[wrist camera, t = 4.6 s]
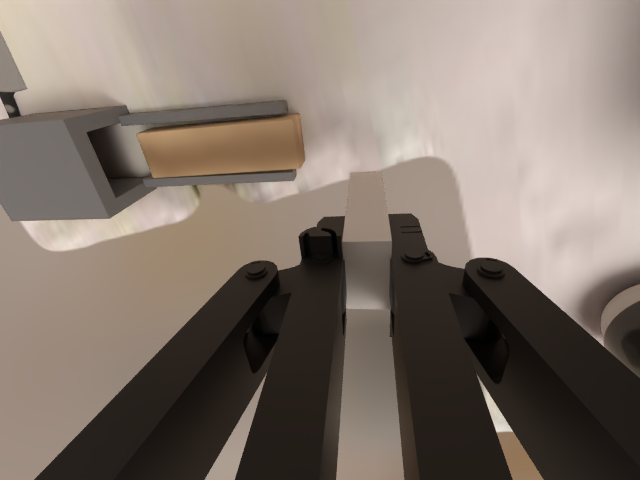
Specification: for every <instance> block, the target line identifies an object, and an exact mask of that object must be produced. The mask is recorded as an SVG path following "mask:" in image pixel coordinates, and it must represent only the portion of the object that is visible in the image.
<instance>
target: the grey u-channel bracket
mask: <svg viewBox="0 0 640 480" xmlns="http://www.w3.org/2000/svg"><path fill="white" fill-rule="evenodd" d="M286 111H288V107H287V100H284V101H272V102H261V103H249V104H237V105H225V106H214V107H202V108H190V109H178V110H167V111H155V112H143V113H131V114H129V112H128V110H127V107H126V106H115V107H104V108H93V109H82V110H71V111H60V112H49V113H37V114H30V115H25V116H19V117H14V118H9V119H3V120H0V204H1V205H2V207H3V208H4V210H5V211H6V213H7V214H8V216H9V217H10V219H11V220H12V221H36V220H75V219H110V218H111V217H113V216H114V215H116V214H118V213H119V212H121V211H122V210H124V209H125V208H127V207H128V206H130V205H131V204H133V203H135V202H136V201H138V200H139V199H141V198H142V197H144V196H145V195H147V194H148V193H150V192H152V191H153V190H155V189H156V187H161V186H184V185H207V184H230V183H254V182H277V181H294V179H295V177H296V169H286V170H271V171H255V172H240V173H225V174H209V175H194V176H179V177H163V178H153V177H152V174H151V175H149V176H148V177H145V178H125V179H107V178H106V175H105V173H104V171H103V169H102V167H101V164H100V162H99V160H98V158H97V155H96V153H95V151H94V149H93V146H92V144H91V142H90V140H89V137H88V135H87V133H86V132H89V131H92V130H96V129H99V128H103V127H106V126H110V125H113V124H117V123H121V125H122V126H128V125H141V124H153V123H166V122H179V121H192V120H204V119H217V118H230V117H243V116H255V115H268V114H281V113H285V112H286Z"/></svg>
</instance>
